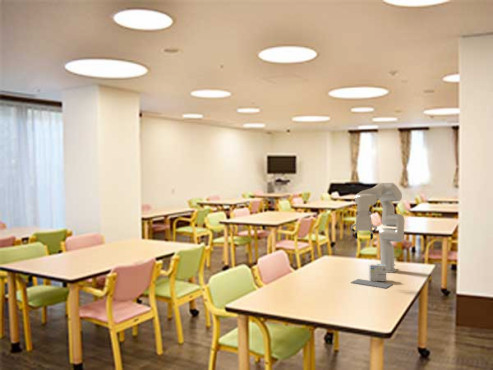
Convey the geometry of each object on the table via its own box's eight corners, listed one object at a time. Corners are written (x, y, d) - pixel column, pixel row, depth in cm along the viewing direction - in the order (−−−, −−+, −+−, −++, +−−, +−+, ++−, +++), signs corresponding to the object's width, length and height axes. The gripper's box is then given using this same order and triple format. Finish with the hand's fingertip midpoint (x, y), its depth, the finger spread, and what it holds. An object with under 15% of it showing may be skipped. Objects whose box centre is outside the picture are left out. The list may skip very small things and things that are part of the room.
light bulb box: (384, 279, 285) (384, 263, 285) (386, 281, 278) (386, 265, 279) (368, 279, 286) (368, 263, 287) (370, 281, 279) (370, 264, 280)
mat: (357, 279, 287) (357, 278, 287) (392, 285, 271) (392, 284, 271) (350, 283, 279) (350, 282, 279) (386, 288, 263) (386, 287, 263)
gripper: (377, 213, 277) (378, 238, 278) (351, 212, 284) (351, 237, 285) (376, 214, 270) (376, 240, 271) (349, 213, 278) (349, 239, 278)
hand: (363, 239), depth 278 cm, fingers open, 9 cm apart
